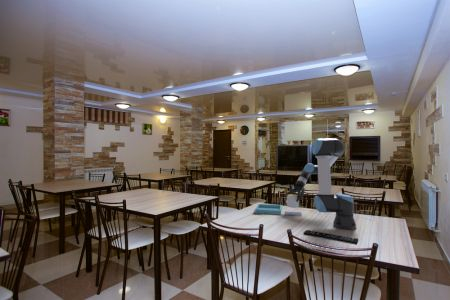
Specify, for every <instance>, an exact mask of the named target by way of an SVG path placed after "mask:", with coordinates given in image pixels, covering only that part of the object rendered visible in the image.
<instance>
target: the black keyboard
mask: <svg viewBox="0 0 450 300" xmlns="http://www.w3.org/2000/svg"><path fill="white" fill-rule="evenodd" d="M303 236H311V237H316V238H321V239H326V240H332V241H338V242H343V243H349V244H354V245H357V244H358V242H359V238H355V237H351V236H347V235H345V236H344V235H338V234H333V233H328V232H322V231H315V230H309V229H305V231H303Z"/></svg>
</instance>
